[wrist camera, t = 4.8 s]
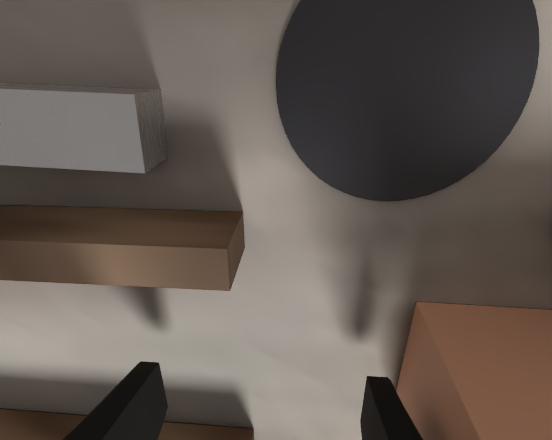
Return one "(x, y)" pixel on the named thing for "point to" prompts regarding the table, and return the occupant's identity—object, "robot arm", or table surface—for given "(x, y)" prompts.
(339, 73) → the hole disc
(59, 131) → the steel bar
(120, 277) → the bay
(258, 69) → the table surface
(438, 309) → the cube
